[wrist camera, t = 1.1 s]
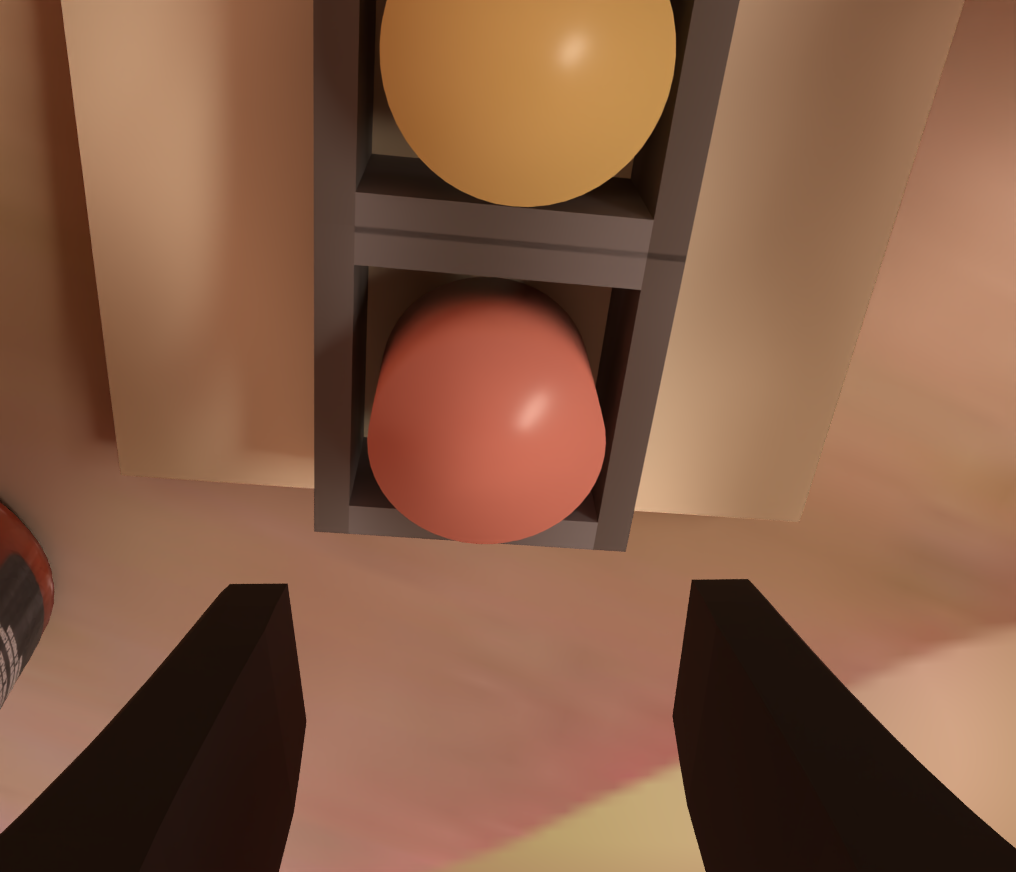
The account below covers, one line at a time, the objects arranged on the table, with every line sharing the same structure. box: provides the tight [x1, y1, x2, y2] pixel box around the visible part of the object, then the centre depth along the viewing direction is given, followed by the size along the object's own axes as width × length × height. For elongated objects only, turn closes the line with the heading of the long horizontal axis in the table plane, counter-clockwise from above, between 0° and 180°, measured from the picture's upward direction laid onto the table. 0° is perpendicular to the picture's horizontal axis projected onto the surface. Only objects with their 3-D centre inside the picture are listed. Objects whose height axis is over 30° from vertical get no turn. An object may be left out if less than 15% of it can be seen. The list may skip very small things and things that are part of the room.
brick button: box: [367, 277, 606, 544], centre depth 15 cm, size 4×4×2 cm
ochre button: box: [380, 0, 676, 207], centre depth 12 cm, size 4×4×2 cm
